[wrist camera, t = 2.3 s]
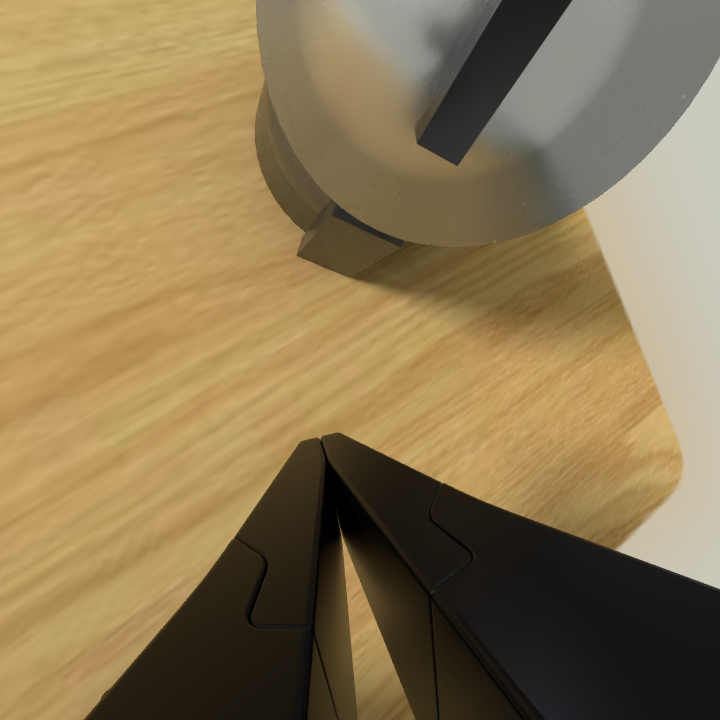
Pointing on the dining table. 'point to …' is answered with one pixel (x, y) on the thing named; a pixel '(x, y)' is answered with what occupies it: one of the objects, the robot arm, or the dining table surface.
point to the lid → (479, 103)
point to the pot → (315, 205)
